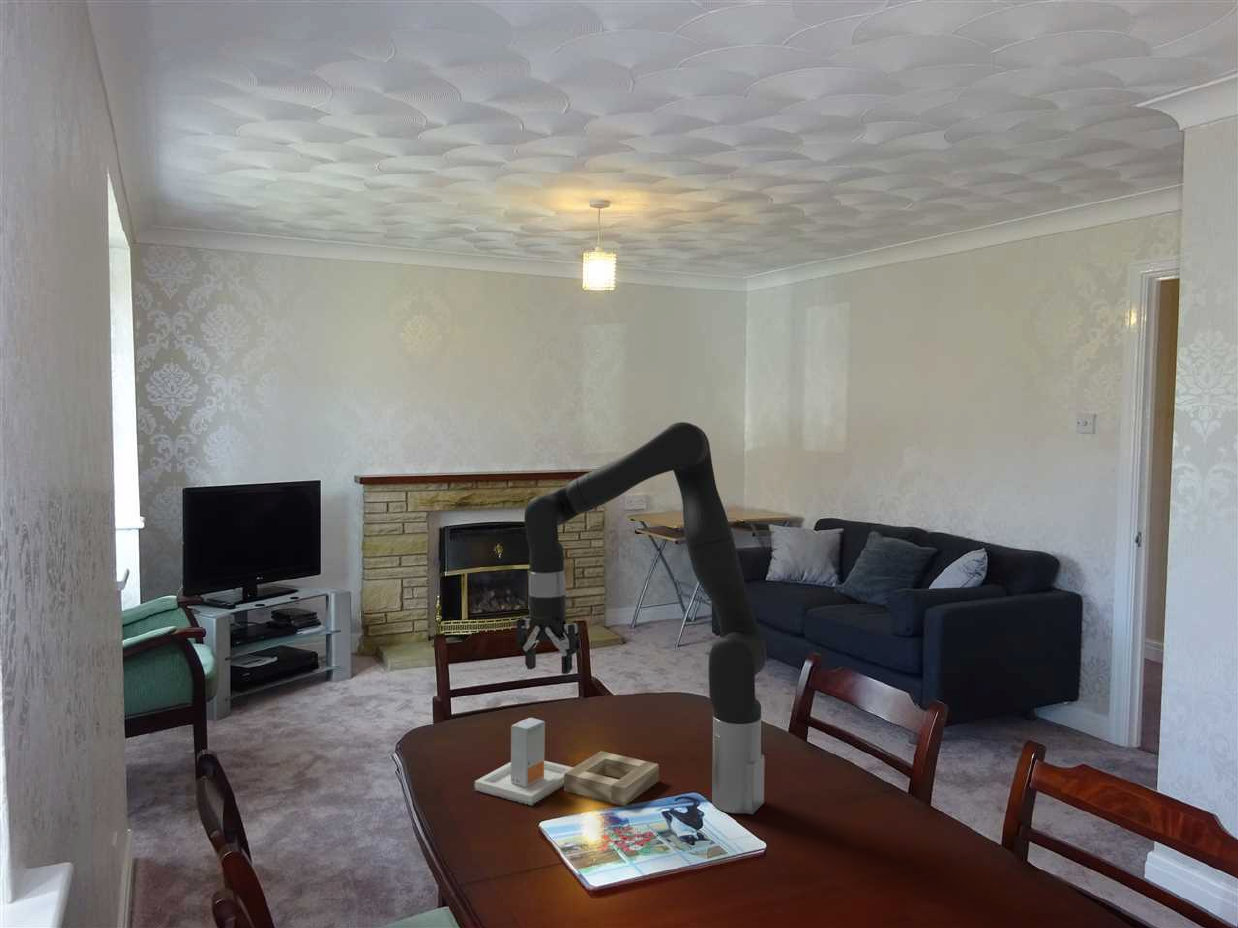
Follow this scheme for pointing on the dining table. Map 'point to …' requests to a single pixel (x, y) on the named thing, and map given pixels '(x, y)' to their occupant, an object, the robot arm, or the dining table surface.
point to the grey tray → (502, 786)
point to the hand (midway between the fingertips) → (548, 670)
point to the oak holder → (596, 785)
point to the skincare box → (527, 751)
